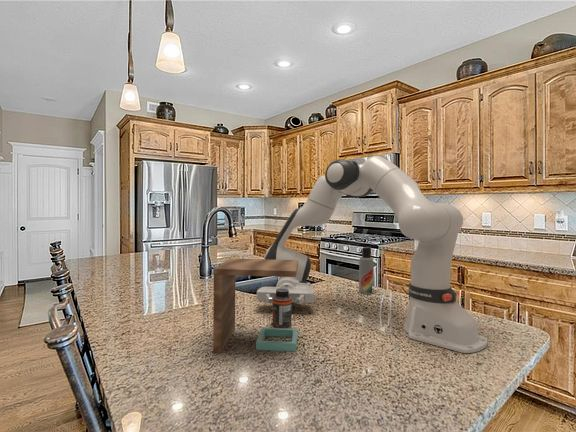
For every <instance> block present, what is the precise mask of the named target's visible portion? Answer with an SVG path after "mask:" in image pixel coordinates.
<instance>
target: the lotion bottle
mask: <svg viewBox="0 0 576 432" xmlns="http://www.w3.org/2000/svg"><path fill="white" fill-rule="evenodd" d="M358 267H359V270H358V273H359V274H358V275H359V276H358V281H359V282H358V292H359V294H362V295H372V294H373V285H374V284H373V282H374V257H372V248H371V246H363V247H361V257H359V266H358Z"/></svg>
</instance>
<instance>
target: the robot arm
mask: <svg viewBox="0 0 576 432" xmlns="http://www.w3.org/2000/svg"><path fill="white" fill-rule="evenodd" d="M324 173H325V174H323V175H321V176H320V177H318V179H317V180H316V182H315V183H314V185H313V186H312V188H311V191H310V193H309V195H308V197H307V200H306V201H305V203H304V204H302V206H301V207H299V208H295V209H294V210H293V211H292V212H291V214H290V215H289V217H288V219H286V222H285V223H284V224H283V226H282V228H281V230H280V231H279V233H278V234H277V236H276V238H275V240H274V242H273V243H272V244H271V245H270V246H269V247H268V249H267V251H266V252H265V254H264V259H270V260H298V269H297V274H296V277H280V278H279V279H278V281H277V283H276V286H261V287H260V288H258V289H257V291H256V301H257V302H267V304H273V297H274V296H275V295H276V289H279V288H285V289H288V290H289V294H288V295H289V296H290V297H291V299H292V303H295V304H296V305H302V303H303V304H304V303H305V304H306V303H307V304H312V303H315V290H314V288H313V287H312V286H311V283H310V282H307V281H308V278H309V275H310V272H311V267H312V263H311V262H312V261H311V258H310V257H309V256H308V255H307V254H304V253H302V252H299V251H295V250H294V249H290V248H288V247H286V246H285V244H286V242H287V240H288V238H290V236H291V234H292V232H293V231H294V229H296V228H298V227H318V226H322V225H325V224H326V223H328V222H329V221H330V219H331V218H332V216H333V214H334V213H335V212H334V211H335V210H336V207H337V205H338V202H339V200H340V199H341V197H343V196H346V197H348V198H363V197H366V196H369V195H370V194H371V193H372V192H374V193H375V195H377V196H378V197H379V198H380V199H381V200H382V201H383V202H384V203H385V204H386V206H388V207H389V208H390V209H391V210H392V212H393V213H394V215H395V217H396V218H397V222H398V228H399V230H400V232H401V233H402V234H403V235H404V236H405V237H406V238H408V239H411V240H415V241H418V244H417V247H416V250H415V252H414V253H413V255H412V256H411V258H410V282H409V284H408V299H409V301H408V308H407V314H406V320H405V322H404V325H403V330H404V331H405V332H406V333H407V336H408V338H409V339H411V340H413V341H419V342H423V343H426V344H429V345H434V346H437V347H440V348H445V349H448V350H451V351H455V352H459V353H462V354H472V353H476V352H479V351H483V350H484V349H485V348H486V347H487V346H488V338H487V337H485V336H484V335H481V334H479V325H478V321H477V320H476V318H475V317H474V316H472V315H471V313H469V312H468V311H467V310H466V309H465V308H464V307H463V306H461V304H460V303H459V302H457V296H459V295H460V294H459V293H460V291H459V290H457V291H455V290H454V289H453V288H452V286H451V275H452V273H451V272H452V261H453V256H454V251H455V247H456V244H457V243H456V242H457V239H458V235H459V232H460V230H461V229H462V227H463V226H464V225H463V224H464V217H463V214H462V212H461V211H460V210H459V208H456V207H455V206H453V205H451V204H449V203H446V202H444V203H443V202H433V201H431V200H429V199H428V197H426V196H425V195H424V194H423V192H422V191H421V189H420V187H419V184H418V183H417V182H416V181H415V180H414V179H412V177H410V176H409V175H408V174H407V173H406V172H404V171H403V170H402V169H401V168H400V167H398V166H397V165H396V164H394V163H393V162H392V161H390V160H388V159H386V158H384V157H382V156H380V155H373V156H371V157H369V158H367V159H366V160H365V161H364V162H363V163H362V164H358V162H357V161H355V160H347V159H336V160H333V161H331V162H330V163H329V164H328V166H327V167H326V169H325V172H324Z"/></svg>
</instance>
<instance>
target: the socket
mask: <svg viewBox="0 0 576 432" xmlns="http://www.w3.org/2000/svg"><path fill="white" fill-rule="evenodd" d="M298 332H299V331H298V328H289V327H287V328H277V327H264V326H263V327H261V329H260V332H259V334H258V336H257V339H256V342H255V350H256V351H257V350H258V351H279V352H280V351H281V352H297V343H298ZM266 337H279V338H280V337H282V338H291V341H281V340H265V339H266Z"/></svg>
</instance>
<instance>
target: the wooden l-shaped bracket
mask: <svg viewBox="0 0 576 432" xmlns="http://www.w3.org/2000/svg"><path fill="white" fill-rule="evenodd" d="M297 269H298V260H270V259H265V258H263V259H262V258H261V259H260V258H232V257H231V258H227V259H226V260H224V262H223V261H222V263H220V264H219V265H217V266H216V267H214V268H213V306H212V307H213V308H212V309H213V314H212V315H213V321H212V322H213V329H212V333H213V334H212V336H213V337H212V338H213V339H212V340H213V341H212V342H213V343H212V345H213V346H212V348H213V349H212V353H213V354H214V353H215V354H221V353H222V352H223V350H224V349H225V347H226V345H227V343H228V342H229V340H230V339H231V337H232V336H233V333H234V332H235V330H236V276H245V277H246V276H247V277H275V278H276V277H296V274H297Z"/></svg>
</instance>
